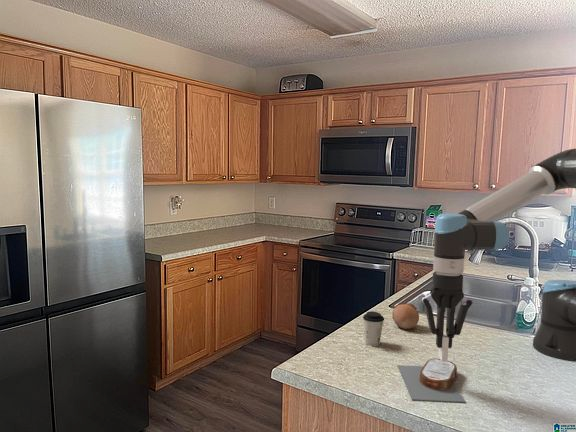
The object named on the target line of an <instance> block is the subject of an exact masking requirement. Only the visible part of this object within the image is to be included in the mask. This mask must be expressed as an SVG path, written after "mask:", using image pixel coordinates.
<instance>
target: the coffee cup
mask: <svg viewBox="0 0 576 432" xmlns="http://www.w3.org/2000/svg"><path fill="white" fill-rule="evenodd" d="M362 319H363V328H364V329H363V330H364V341H365V344H366V345H367V346H371V347H378V346H380V343H381V337H382V331H383V326H384V321H385V318H384V316H383V315H382V314H381V313H380V312H377V311H373V310H372V311H367V312H366V313H365V314H363V316H362Z"/></svg>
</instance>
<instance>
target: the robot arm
mask: <svg viewBox="0 0 576 432" xmlns="http://www.w3.org/2000/svg"><path fill="white" fill-rule="evenodd" d="M565 189H576V148H570V149H566V150H563V151H560V152H558V153H555V154H553V155H551V156H550V157H548V158H546V159H543V160H542V161H540V162H538V163H537V164H535V165H533V166H531V167H530V168H529V169H528V170H527V173H526V174H524V175H522V176H521V177H519V178H517V179H515V180H514V181H512V182H510V183H508V184H507V185H505V186H503V187H502V188H500V189H498V190H496V191H494V192H493V193H491V194H489V195H488V196H486V197H484V198H483V199H481V200H478V201H477V202H476V203H474V204H471V205H470V206H469V207H466V208H465V209H464V210H461V211H460V212H458V213H439V215H437V216H436V217H435V218H436V220H435V224H434V225H435V226H434V248H433V251H434V252H433V264H432V265H433V266H432V271H434V272H433V273H432V281H431V282H432V283H431V284H432V285H431V290H430V291H429V294H427V295H425V296H421V297H420V299H421V301H422V303H423V305H424V308H425V312H426V314H425V315H426V318H427V324H428V328H429V331H430V332H431V333H432V334H433V335H436V336H435V337H436V339H435V345H436V346H437V348H438V349H439V350H438V359H441V361H449V349H452V348H453V339H454V338H455V336H460V335H461V333H462V329H463V326H464V323H465V320H466V316H467V313H468V310H469V309H470V307H471V306H472V305H473V301H472V300H471V299H470V298H468V297H466V296H465V294H464V291H463V289H464V288H463V287H464V285H463V284H464V275H463V273H464V271H465V270H464V269H465V268H464V267H465V256H466V255H465V254H466V251H495V250H496V251H497V250H502V249H505V248H506V247H507V246H508V244H509V242H510V231H509V230H510V229H509V228H508V227H507V226H508V225H506V224H505V223H504V222H502V221H499V220H500V219H502V218H504V217H506V216H508V215H509V214H510V213H513V212H514V211H516V210H518V209H520V208H521V207H523V206H524V205H527V204H528V203H530V202H531V201H533V200H535V199H536V198H538V197H540V196H541V195H550V194H553V193H554V192H556V191H558V190H565ZM541 299H542V300H541V312H540V313H541V314H540V323H539V326H538V329H537V331H536V332H535V335H534V337H533V339H532V348H534V349H535V350H536V351H537V352H538V353H541V354H543V355H547V356H549V357H553V358H556V359H561V360H567V361H576V280H573V279H572V280H570V279H550V280H547V281H545V283H544V284H543V290H542V298H541ZM432 300H433V301H432ZM433 302H434V303H435V304H436V309H437V310H436V311H437V312H436V322H435V317H434V313H433V311H434V310H433V308H432V304H433ZM459 304H460V306H459V309H458V312H457V315H456V319H455V313H456V307H457V306H458V305H459ZM445 313H446V322H445ZM445 324H446V325H445ZM444 329H445V333H444Z"/></svg>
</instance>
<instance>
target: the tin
mask: <svg viewBox="0 0 576 432" xmlns="http://www.w3.org/2000/svg"><path fill="white" fill-rule="evenodd" d="M423 366H424V367H423V368H422V369H421V371H420V378H419V381H420V383H421V384H422V385H424V386H425V387H428V388H430V389H434V390H447V389H450V388H451V387H452V385H453V384H455V381H456V379H457V377H458V374H457V373H458V368H457V365H456V364H455V363H454V362H453V361H449V360H448V361H441V359H440V358H430V359H428V360H427V361H426V363H424V364H423Z"/></svg>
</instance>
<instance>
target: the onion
mask: <svg viewBox="0 0 576 432" xmlns="http://www.w3.org/2000/svg"><path fill="white" fill-rule="evenodd" d="M419 314H420V313H419V311H418V308H417V307H416V306H415V305H414V303H411V302H409V303H408V302H407V303H402V304H397V305H396V306H395V307H394V308H393V310H392V320H393V322H394V323H395V325H396V326H397V327H398V328H400V329H403V330H407V329H408V330H413V329H414V328H416V327H417V325H418V324H419V322H420V315H419Z"/></svg>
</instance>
